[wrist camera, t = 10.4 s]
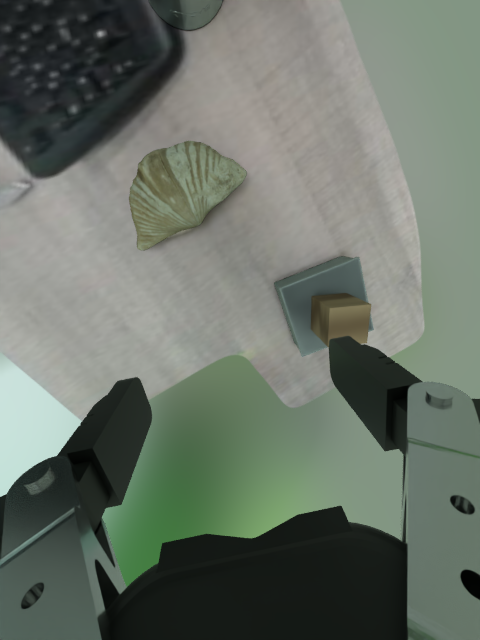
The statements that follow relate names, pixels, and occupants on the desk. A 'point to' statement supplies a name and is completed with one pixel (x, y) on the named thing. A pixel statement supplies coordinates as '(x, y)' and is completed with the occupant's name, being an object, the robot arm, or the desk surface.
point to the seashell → (179, 189)
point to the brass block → (340, 317)
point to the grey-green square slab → (314, 282)
